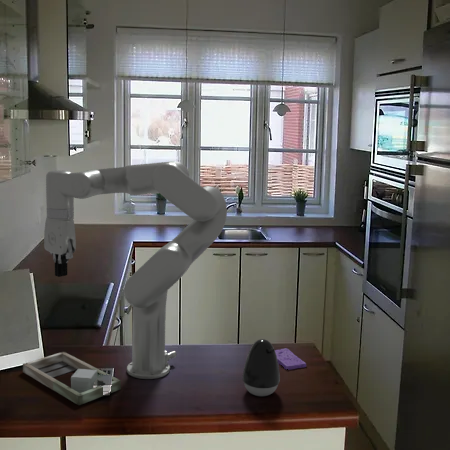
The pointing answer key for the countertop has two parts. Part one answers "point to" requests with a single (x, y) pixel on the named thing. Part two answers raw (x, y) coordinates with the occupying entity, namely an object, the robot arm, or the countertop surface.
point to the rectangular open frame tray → (62, 359)
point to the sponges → (289, 359)
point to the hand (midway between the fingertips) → (61, 275)
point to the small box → (83, 380)
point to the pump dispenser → (261, 369)
